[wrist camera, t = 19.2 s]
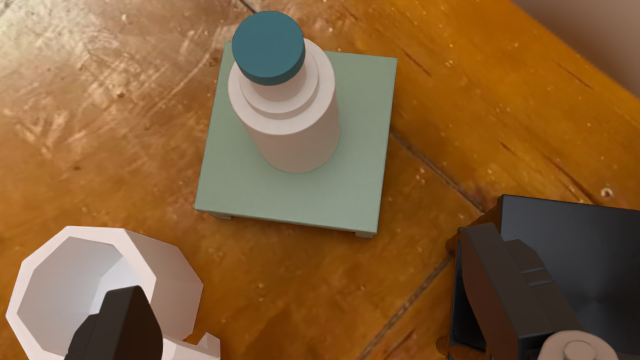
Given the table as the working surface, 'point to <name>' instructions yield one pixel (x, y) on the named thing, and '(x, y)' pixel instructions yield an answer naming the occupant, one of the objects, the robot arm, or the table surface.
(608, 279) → the black tiered rack
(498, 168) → the table surface
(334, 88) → the bottle
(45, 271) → the mug
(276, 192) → the low green table
